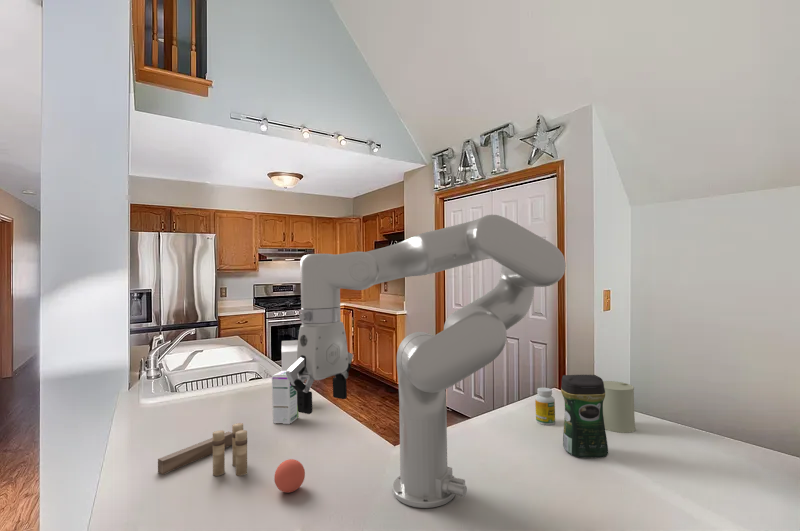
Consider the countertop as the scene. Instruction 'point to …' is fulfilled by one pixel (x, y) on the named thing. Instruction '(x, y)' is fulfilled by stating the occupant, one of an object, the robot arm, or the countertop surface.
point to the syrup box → (283, 399)
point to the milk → (289, 354)
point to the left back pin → (218, 453)
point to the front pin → (241, 452)
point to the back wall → (189, 454)
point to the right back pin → (234, 429)
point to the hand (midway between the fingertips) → (323, 405)
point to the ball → (289, 475)
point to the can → (619, 407)
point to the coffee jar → (584, 416)
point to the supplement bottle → (545, 407)
